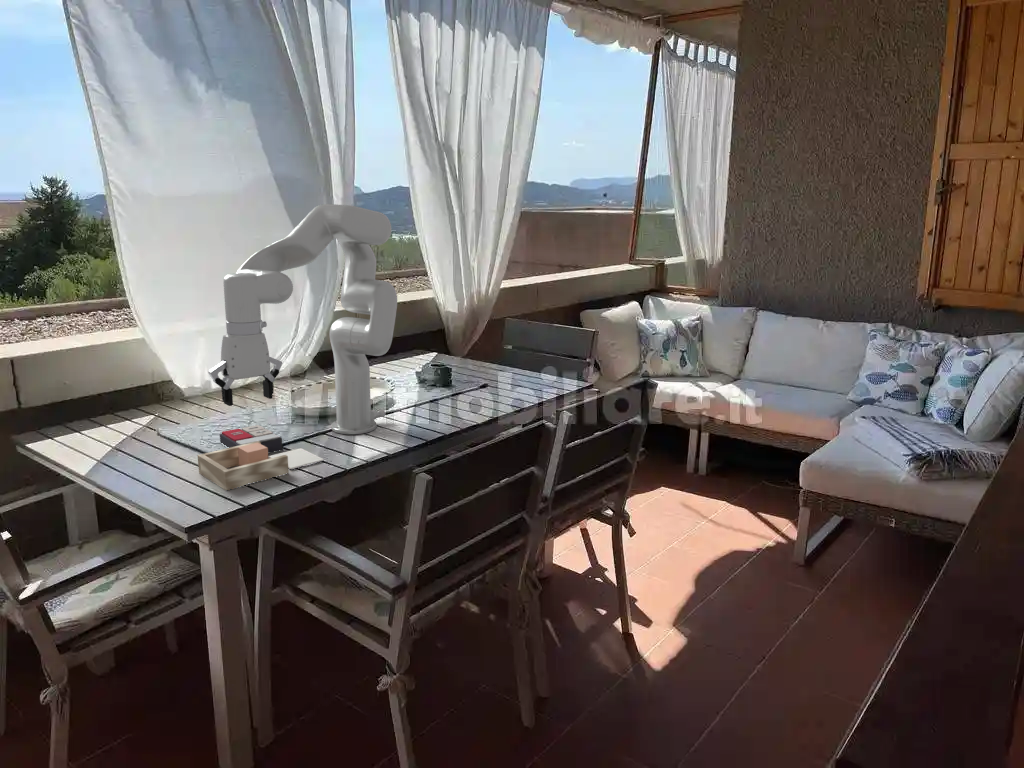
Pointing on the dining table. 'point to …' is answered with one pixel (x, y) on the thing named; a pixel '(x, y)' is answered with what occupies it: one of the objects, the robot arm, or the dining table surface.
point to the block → (252, 453)
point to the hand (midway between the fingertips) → (248, 401)
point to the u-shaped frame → (238, 468)
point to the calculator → (252, 437)
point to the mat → (298, 458)
